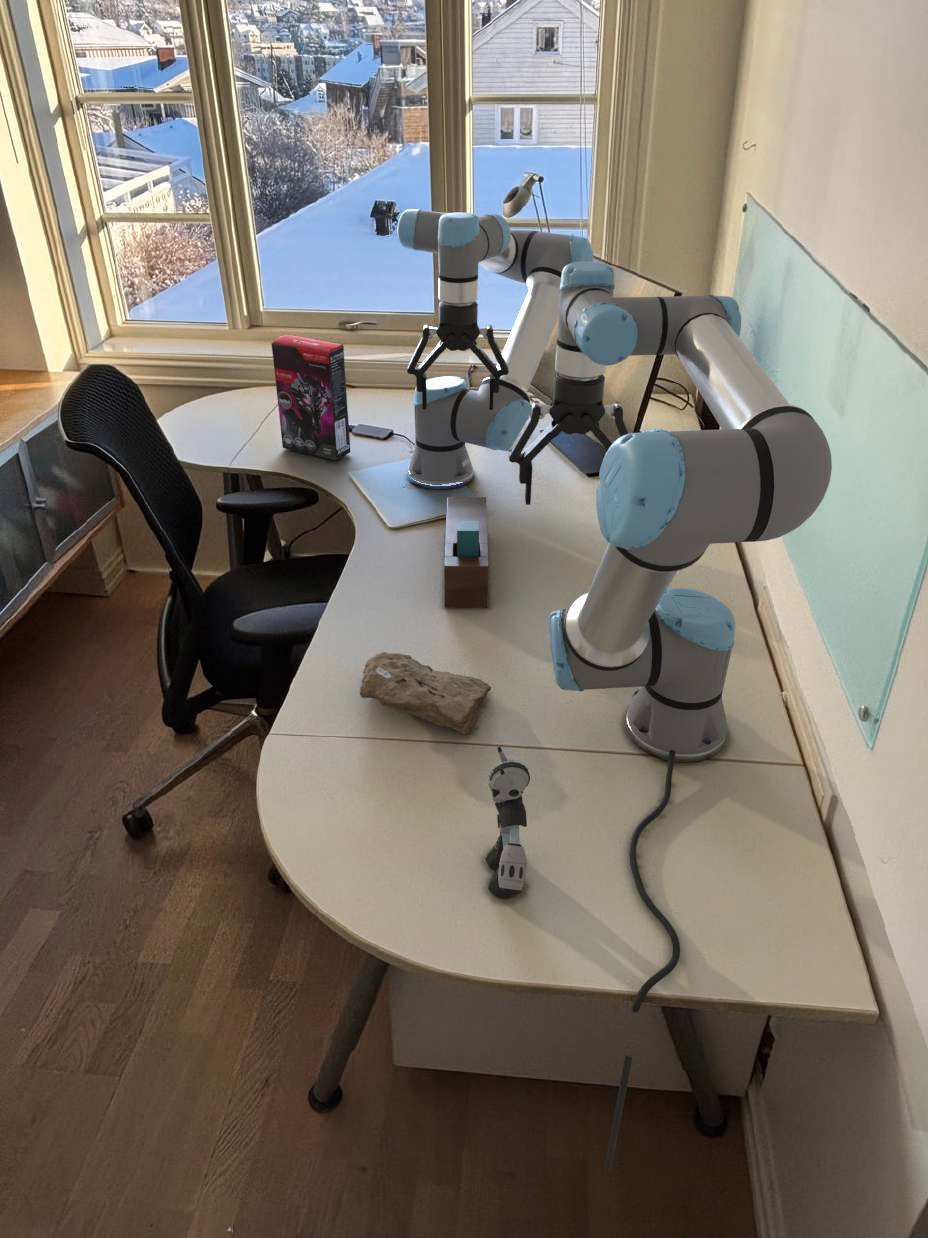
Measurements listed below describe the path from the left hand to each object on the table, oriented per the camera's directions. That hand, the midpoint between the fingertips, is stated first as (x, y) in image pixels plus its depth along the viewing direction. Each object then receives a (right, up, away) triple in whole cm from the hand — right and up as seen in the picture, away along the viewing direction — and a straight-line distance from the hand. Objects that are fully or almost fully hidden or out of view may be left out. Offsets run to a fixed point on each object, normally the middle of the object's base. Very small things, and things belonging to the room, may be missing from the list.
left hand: (457, 407), depth 189 cm
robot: (+7, -76, -70) cm, 104 cm away
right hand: (+18, -24, -40) cm, 50 cm away
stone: (-6, -57, -41) cm, 71 cm away
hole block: (+2, -34, -6) cm, 34 cm away
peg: (+2, -38, -12) cm, 40 cm away
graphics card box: (-36, -2, +41) cm, 55 cm away
